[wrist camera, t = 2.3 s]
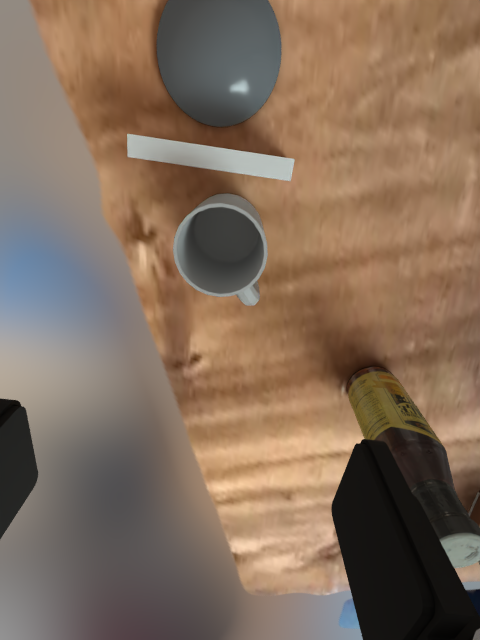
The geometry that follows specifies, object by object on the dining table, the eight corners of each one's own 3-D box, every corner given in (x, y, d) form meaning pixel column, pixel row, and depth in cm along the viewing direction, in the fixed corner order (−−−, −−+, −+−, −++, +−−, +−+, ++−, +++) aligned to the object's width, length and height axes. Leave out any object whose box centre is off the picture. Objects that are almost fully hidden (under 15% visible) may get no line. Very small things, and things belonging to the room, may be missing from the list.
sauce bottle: (403, 387, 41) (525, 562, 23) (359, 411, 43) (441, 590, 25) (378, 352, 39) (490, 515, 21) (333, 378, 41) (401, 549, 23)
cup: (242, 178, 31) (241, 184, 23) (284, 270, 35) (296, 302, 27) (177, 213, 32) (154, 231, 24) (224, 297, 36) (218, 337, 28)
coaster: (160, -38, 24) (158, -43, 24) (291, -15, 25) (292, -19, 24) (157, 117, 29) (155, 116, 28) (269, 134, 29) (269, 134, 29)
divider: (145, 137, 29) (127, 133, 25) (287, 159, 30) (294, 159, 25) (145, 157, 30) (127, 156, 26) (284, 178, 31) (290, 181, 26)
